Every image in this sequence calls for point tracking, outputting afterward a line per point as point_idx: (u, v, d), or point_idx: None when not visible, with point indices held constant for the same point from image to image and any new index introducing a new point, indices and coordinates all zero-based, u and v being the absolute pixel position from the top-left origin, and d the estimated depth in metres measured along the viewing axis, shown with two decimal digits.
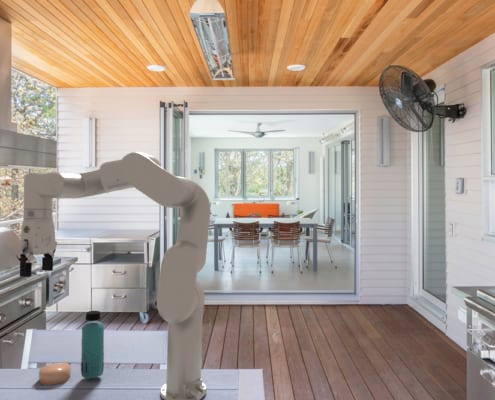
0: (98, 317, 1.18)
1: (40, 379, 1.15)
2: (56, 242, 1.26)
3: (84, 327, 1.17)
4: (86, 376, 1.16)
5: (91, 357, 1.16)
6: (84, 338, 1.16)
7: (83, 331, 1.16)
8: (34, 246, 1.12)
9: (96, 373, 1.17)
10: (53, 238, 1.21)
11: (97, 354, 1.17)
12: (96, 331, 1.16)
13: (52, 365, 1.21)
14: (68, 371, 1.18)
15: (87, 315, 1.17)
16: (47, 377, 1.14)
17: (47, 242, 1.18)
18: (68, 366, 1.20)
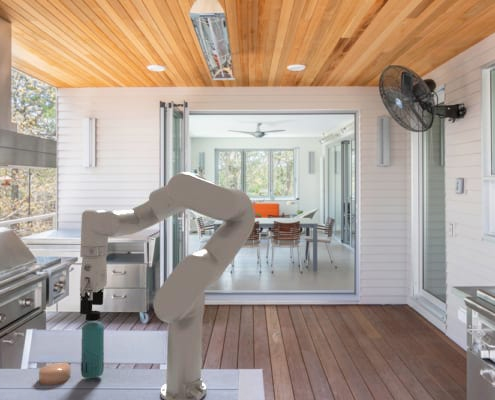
0: (98, 317, 1.18)
1: (40, 379, 1.15)
2: None
3: (84, 327, 1.17)
4: (86, 376, 1.16)
5: (91, 357, 1.16)
6: (84, 338, 1.16)
7: (83, 331, 1.16)
8: (95, 284, 1.14)
9: (96, 373, 1.17)
10: (106, 273, 1.23)
11: (97, 354, 1.17)
12: (96, 331, 1.16)
13: (52, 365, 1.21)
14: (68, 371, 1.18)
15: (87, 315, 1.17)
16: (47, 377, 1.14)
17: (103, 278, 1.20)
18: (68, 366, 1.20)
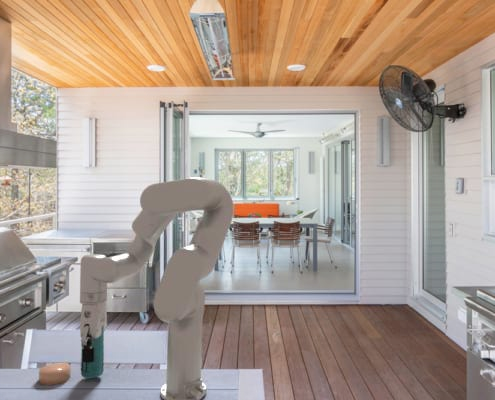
0: None
1: (40, 379, 1.15)
2: None
3: None
4: (86, 376, 1.16)
5: None
6: None
7: None
8: (96, 330, 1.14)
9: (96, 373, 1.17)
10: (106, 317, 1.23)
11: (97, 354, 1.17)
12: None
13: (52, 365, 1.21)
14: (68, 371, 1.18)
15: None
16: (47, 377, 1.14)
17: (103, 322, 1.20)
18: (68, 366, 1.20)
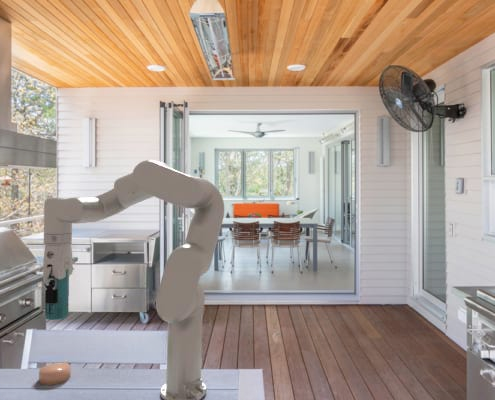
0: None
1: (40, 379, 1.15)
2: None
3: None
4: (50, 318, 1.16)
5: None
6: None
7: None
8: (58, 271, 1.14)
9: (60, 315, 1.16)
10: (71, 261, 1.22)
11: (60, 296, 1.16)
12: None
13: (52, 365, 1.21)
14: (68, 371, 1.18)
15: None
16: (47, 377, 1.14)
17: (67, 266, 1.19)
18: (68, 366, 1.20)
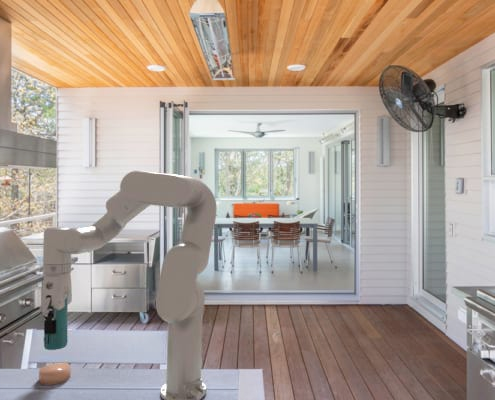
0: None
1: (40, 379, 1.15)
2: None
3: None
4: (48, 348, 1.16)
5: None
6: None
7: None
8: (57, 302, 1.14)
9: (59, 345, 1.16)
10: (70, 290, 1.22)
11: (59, 326, 1.16)
12: None
13: (52, 365, 1.21)
14: (68, 371, 1.18)
15: None
16: (47, 377, 1.14)
17: (66, 295, 1.19)
18: (68, 366, 1.20)
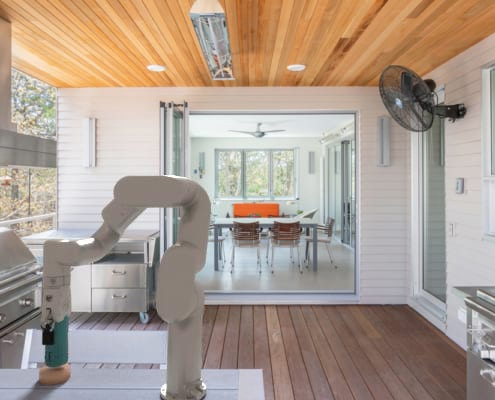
0: None
1: (40, 379, 1.15)
2: None
3: None
4: (49, 365, 1.16)
5: (54, 346, 1.16)
6: None
7: None
8: (57, 314, 1.14)
9: (59, 362, 1.17)
10: (70, 302, 1.22)
11: (60, 343, 1.16)
12: None
13: None
14: (68, 371, 1.18)
15: None
16: (47, 377, 1.14)
17: (66, 307, 1.19)
18: (68, 366, 1.20)
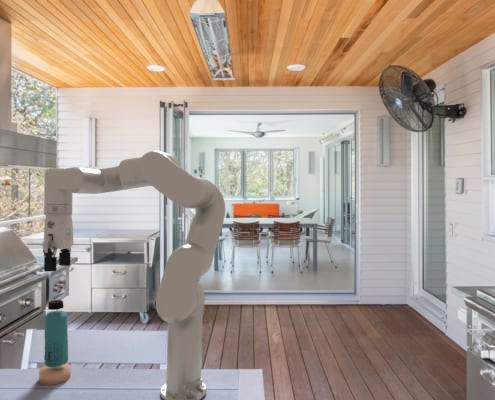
0: (61, 306, 1.18)
1: (40, 379, 1.15)
2: None
3: (46, 316, 1.17)
4: (49, 365, 1.16)
5: (53, 346, 1.16)
6: (46, 327, 1.16)
7: (45, 320, 1.16)
8: (59, 241, 1.14)
9: (59, 362, 1.17)
10: (72, 233, 1.22)
11: (59, 343, 1.16)
12: (58, 320, 1.16)
13: None
14: (68, 371, 1.18)
15: (49, 304, 1.17)
16: (47, 377, 1.14)
17: (68, 237, 1.19)
18: (68, 366, 1.20)
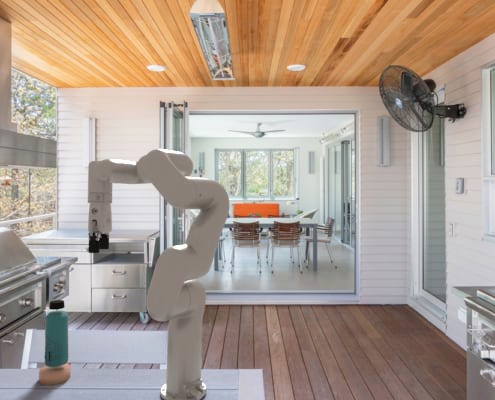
0: (62, 306, 1.18)
1: (40, 379, 1.15)
2: None
3: (47, 316, 1.17)
4: (49, 365, 1.16)
5: (54, 346, 1.16)
6: (47, 327, 1.16)
7: (46, 320, 1.16)
8: (102, 226, 1.27)
9: (59, 362, 1.17)
10: (111, 220, 1.35)
11: (60, 343, 1.16)
12: (59, 320, 1.16)
13: None
14: (68, 371, 1.18)
15: (50, 304, 1.17)
16: (47, 377, 1.14)
17: (108, 223, 1.32)
18: (68, 366, 1.20)
